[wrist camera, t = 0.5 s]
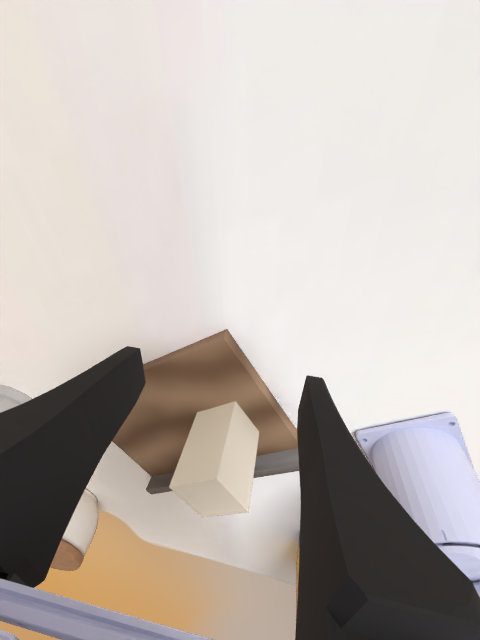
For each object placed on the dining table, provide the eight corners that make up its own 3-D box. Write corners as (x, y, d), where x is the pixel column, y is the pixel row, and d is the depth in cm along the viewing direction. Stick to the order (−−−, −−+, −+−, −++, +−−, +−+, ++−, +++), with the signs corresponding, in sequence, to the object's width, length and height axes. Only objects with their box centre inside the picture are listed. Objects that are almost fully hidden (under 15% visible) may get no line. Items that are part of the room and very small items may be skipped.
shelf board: (306, 443, 28) (307, 470, 26) (161, 472, 36) (152, 495, 34) (227, 329, 22) (218, 350, 20) (75, 393, 30) (57, 413, 28)
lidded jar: (107, 518, 47) (69, 592, 40) (47, 495, 47) (-4, 566, 39) (115, 492, 42) (72, 572, 34) (46, 465, 41) (-13, 541, 33)
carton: (235, 401, 25) (216, 479, 19) (259, 431, 27) (248, 512, 21) (194, 413, 27) (165, 487, 21) (219, 441, 28) (199, 517, 23)
